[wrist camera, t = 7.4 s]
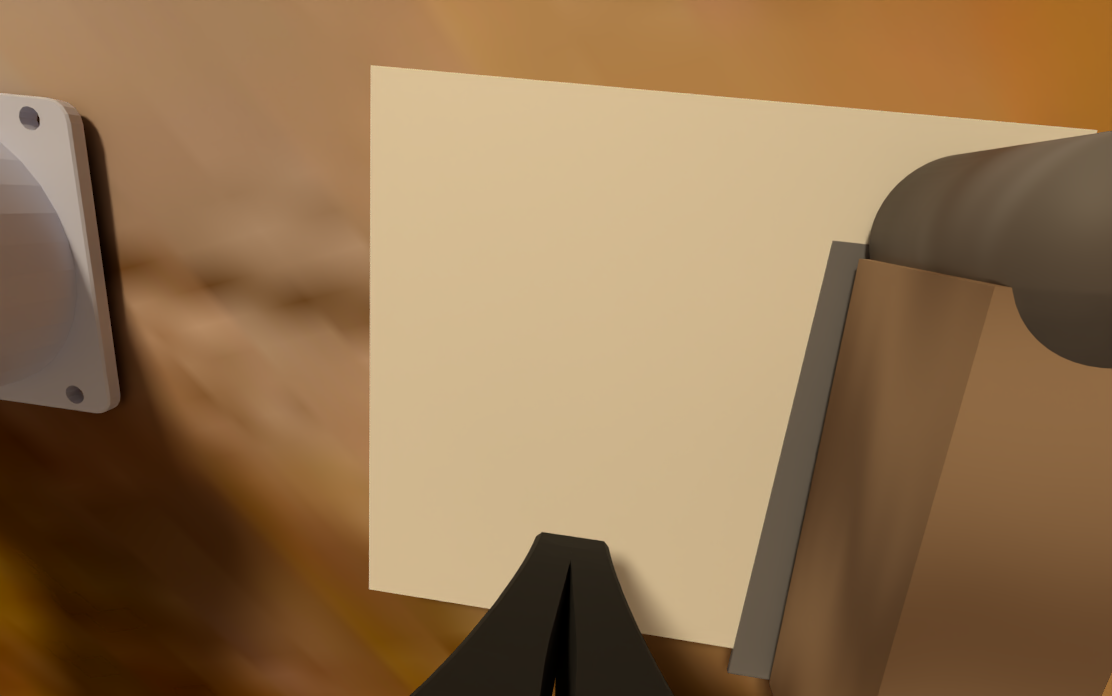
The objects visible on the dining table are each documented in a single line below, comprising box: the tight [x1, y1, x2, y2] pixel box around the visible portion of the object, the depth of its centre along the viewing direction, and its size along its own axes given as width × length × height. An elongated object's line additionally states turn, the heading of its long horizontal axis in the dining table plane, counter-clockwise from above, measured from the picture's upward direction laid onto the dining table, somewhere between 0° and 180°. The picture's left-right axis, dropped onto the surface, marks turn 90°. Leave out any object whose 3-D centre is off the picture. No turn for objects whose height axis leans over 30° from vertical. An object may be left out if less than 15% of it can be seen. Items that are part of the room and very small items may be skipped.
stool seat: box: [369, 65, 1097, 680], centre depth 12 cm, size 13×13×2 cm
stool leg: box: [769, 131, 1112, 696], centre depth 9 cm, size 12×3×4 cm, turn 177°
